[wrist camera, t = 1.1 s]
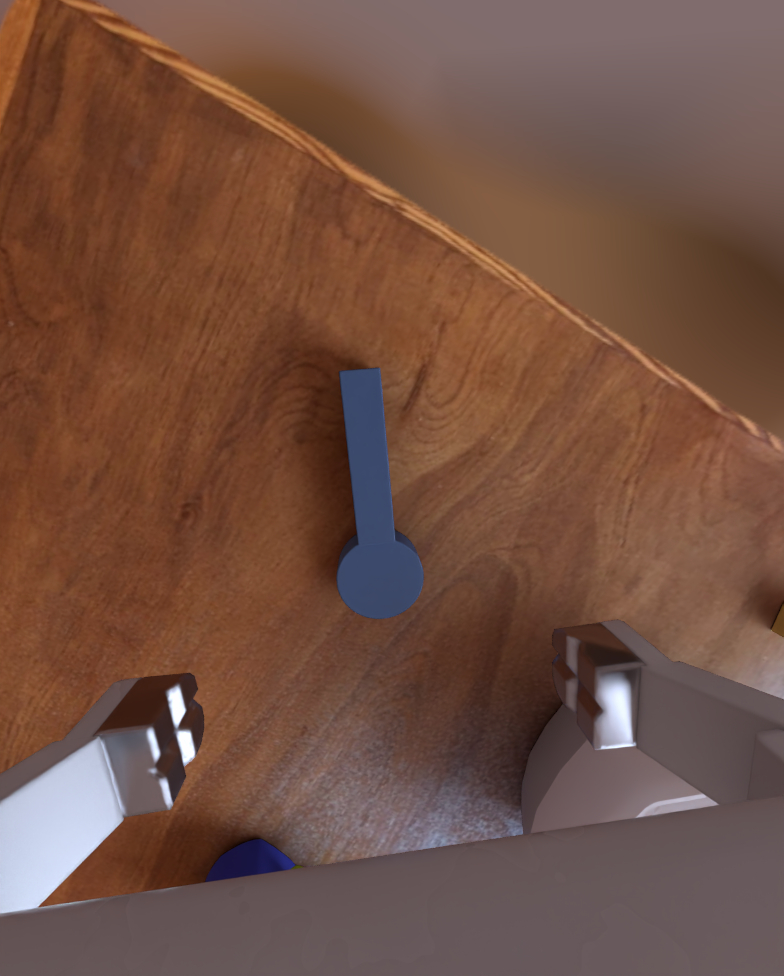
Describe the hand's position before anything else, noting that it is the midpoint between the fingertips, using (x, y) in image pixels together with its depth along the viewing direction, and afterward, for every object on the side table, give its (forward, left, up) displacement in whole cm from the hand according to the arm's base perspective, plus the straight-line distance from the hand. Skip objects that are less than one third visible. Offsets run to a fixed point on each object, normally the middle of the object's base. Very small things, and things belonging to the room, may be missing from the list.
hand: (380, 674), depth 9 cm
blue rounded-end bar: (-1, 0, -15) cm, 15 cm away
